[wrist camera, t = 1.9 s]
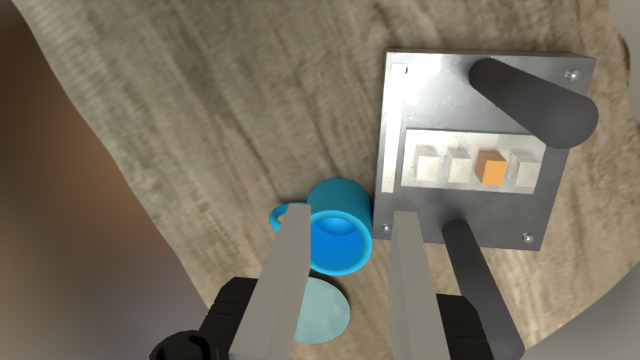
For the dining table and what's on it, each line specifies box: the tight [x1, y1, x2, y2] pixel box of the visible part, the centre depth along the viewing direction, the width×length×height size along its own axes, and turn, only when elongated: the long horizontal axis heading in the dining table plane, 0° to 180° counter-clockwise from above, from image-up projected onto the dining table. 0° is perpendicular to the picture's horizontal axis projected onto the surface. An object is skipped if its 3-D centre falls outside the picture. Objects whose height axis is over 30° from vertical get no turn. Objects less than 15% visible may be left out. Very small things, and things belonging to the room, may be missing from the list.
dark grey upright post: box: [442, 220, 525, 360], centre depth 35 cm, size 3×3×16 cm
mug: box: [269, 178, 372, 275], centre depth 45 cm, size 12×8×8 cm
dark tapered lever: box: [468, 58, 599, 149], centre depth 28 cm, size 3×3×16 cm
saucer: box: [294, 277, 350, 343], centre depth 54 cm, size 12×12×2 cm
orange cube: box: [475, 152, 507, 186], centre depth 37 cm, size 2×2×2 cm
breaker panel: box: [372, 47, 597, 251], centre depth 39 cm, size 20×18×8 cm
